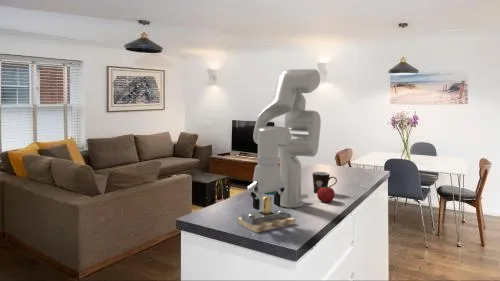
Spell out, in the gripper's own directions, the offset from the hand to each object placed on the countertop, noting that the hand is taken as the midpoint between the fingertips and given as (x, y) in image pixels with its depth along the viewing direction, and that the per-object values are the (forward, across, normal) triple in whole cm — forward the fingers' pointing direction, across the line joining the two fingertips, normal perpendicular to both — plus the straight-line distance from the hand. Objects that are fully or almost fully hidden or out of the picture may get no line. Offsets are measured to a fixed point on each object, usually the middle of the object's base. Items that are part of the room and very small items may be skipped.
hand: (266, 207), depth 139 cm
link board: (+6, 0, 0) cm, 6 cm away
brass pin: (+6, 0, 0) cm, 6 cm away
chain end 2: (+4, -3, 0) cm, 5 cm away
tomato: (+7, -43, -11) cm, 45 cm away
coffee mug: (+6, -53, -23) cm, 58 cm away
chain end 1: (+4, +3, 0) cm, 5 cm away
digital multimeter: (+7, -35, -36) cm, 51 cm away
